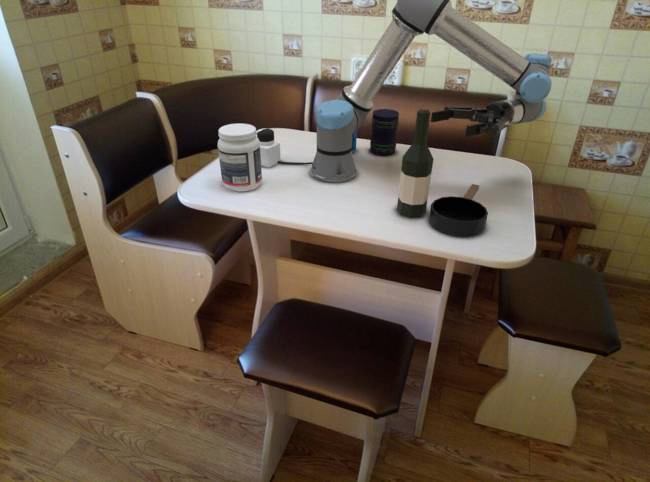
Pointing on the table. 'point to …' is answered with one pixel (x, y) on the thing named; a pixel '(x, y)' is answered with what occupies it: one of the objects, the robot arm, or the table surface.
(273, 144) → the medicine bottle
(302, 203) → the table surface
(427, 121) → the wine bottle
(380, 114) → the storage jar
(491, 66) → the robot arm
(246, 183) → the supplement tub
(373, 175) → the table surface
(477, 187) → the frying pan
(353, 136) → the beverage can
